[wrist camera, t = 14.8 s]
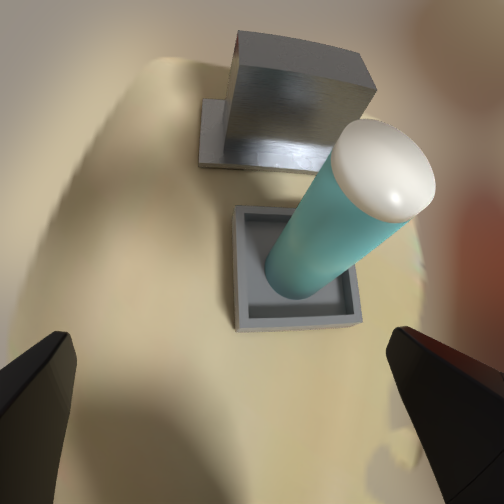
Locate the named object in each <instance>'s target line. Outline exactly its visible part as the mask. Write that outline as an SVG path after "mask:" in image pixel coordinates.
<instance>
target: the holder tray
mask: <svg viewBox="0 0 504 504" xmlns="http://www.w3.org/2000/svg"><path fill="white" fill-rule="evenodd" d="M295 210H296V208H281V207H263V206H242V205H235V208H234V212H233V216H232V244H233V278H234V308H235V332H270V331H295V330H313V329H329V328H343V327H351V326H354V325H357V324H359V323H362V322H363V321H362V312H361V304H360V296H359V289H358V282H357V275H356V269H355V264H354V265H352V266H351V267H350V268H349V269H347V270H346V271H345V272H343V273H342V274H340V275H339V276H338V277H336V278H335V279H334V280H332V281H331V282H330V283H328V284H327V285H326V286H324V287H323V288H321V289H320V290H319V291H317V292H316V293H315V294H313V295H312V296H310V297H308V298H306V299H302V300H292V299H287V298H285V297H283V296H281V295H279V294H278V293H276V292H275V291H274V290H273V289H272V287H271V286H270V284H269V283H268V281H267V278H266V275H265V261H266V258H267V256H268V254H269V252H270V251H271V249H272V247H273V246H274V244H275V242H276V241H277V239H278V238H279V236H280V234H281V233H282V231H283V229H284V228H285V226H286V225H287V223H288V221H289V220H290V218H291V216H292V215H293V213H294V211H295Z"/></svg>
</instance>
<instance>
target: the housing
mask: <svg viewBox="0 0 504 504" xmlns="http://www.w3.org/2000/svg"><path fill="white" fill-rule="evenodd" d="M376 91H377V89H376V86H375V84H374V82H373V80H372V78H371V76H370V74H369V72H368V70H367V68H366V66H365V64H364V62H363V60H362V58H361V56H360V54H359V53H356V52H353V51H349V50H345V49H341V48H337V47H333V46H329V45H325V44H320V43H316V42H311V41H306V40H301V39H296V38H290V37H285V36H278V35H272V34H264V33H257V32H249V31H240V30H238V33H237V38H236V43H235V48H234V54H233V59H232V64H231V70H230V75H229V81H228V87H227V92H226V98H225V100H217V99H203V104H202V117H201V131H200V147H199V165H198V167H211V168H231V169H248V170H263V171H276V172H287V173H299V174H309V175H317V174H318V172H319V170H320V169H321V167H322V165H323V164H324V162H325V160H326V159H327V157H328V155H329V154H330V152H331V150H332V149H333V147H334V145H335V144H336V142H337V140H338V139H339V137H340V135H341V133H342V132H343V130H344V129H345V127H346V126H347V125H348V124H350V123H351V122H353V121H356V120H359V119H360V117H361V116H362V114H363V112H364V111H365V109H366V108H367V106H368V104H369V103H370V101H371V99H372V98H373V96H374V95H375V93H376Z"/></svg>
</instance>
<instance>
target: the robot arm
mask: <svg viewBox="0 0 504 504" xmlns="http://www.w3.org/2000/svg"><path fill="white" fill-rule="evenodd" d="M386 357H387V360H388V363H389V365H390V368H391V371H392V374H393V377H394V379H395V382H396V385H397V388H398V391H399V394H400V396H401V399H402V401H403V403H404V405H405V408H406V410H407V412H408V414H409V416H410V419H411V421H412V423H413V426H414V428H415V430H416V432H417V435H418V437H419V439H420V442H421V444H422V446H423V449H424V451H425V454H426V456H427V458H428V460H429V463H430V466H431V468H432V471H433V473H434V475H435V478H436V481H437V483H438V485H439V488H440V491H441V493H442V496H443V499H444V501H445V504H504V373H502V372H499V371H498V370H496V369H494V368H492V367H490V366H488V365H486V364H484V363H482V362H480V361H478V360H475V359H473V358H471V357H469V356H467V355H465V354H463V353H461V352H459V351H457V350H455V349H453V348H451V347H449V346H447V345H445V344H443V343H441V342H439V341H437V340H435V339H433V338H431V337H429V336H426V335H424V334H423V333H421V332H419V331H417V330H415V329H413V328H410V327H408V326H402V327H397V328H395V329H394V330H393V332H392V335H391V338H390V340H389V343H388V345H387V348H386ZM76 366H77V357H76V353H75V350H74V346H73V343H72V339H71V336H70V334H69V333H68V332H62V331H54V332H52V333H51V334H50V335H48V336H47V337H45V338H44V339H42V340H41V341H40V342H38V343H37V344H35V345H34V346H33V347H31V348H30V349H28V350H27V351H26V352H24V353H23V354H22V355H20V356H19V357H17V358H16V359H15V360H13V361H12V362H11V363H9V364H8V365H6V366H5V367H4V368H2V369H1V370H0V504H53V500H54V493H55V486H56V480H57V474H58V468H59V462H60V457H61V452H62V447H63V442H64V437H65V432H66V428H67V423H68V419H69V414H70V408H71V400H72V393H73V385H74V379H75V372H76Z"/></svg>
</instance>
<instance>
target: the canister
mask: <svg viewBox="0 0 504 504" xmlns="http://www.w3.org/2000/svg"><path fill="white" fill-rule="evenodd" d="M434 194H435V178H434V174H433V171H432V168H431V166H430V164H429V161H428V160H427V158H426V157H425V155H424V153H423V152H422V151H421V149H420V148H419V147H418V146H417V145H416V144H415V143H414V142H413V141H412V140H411V139H410V138H409V137H408V136H407V135H405V134H404V133H403V132H401V131H400V130H398V129H397V128H395V127H393V126H391V125H389V124H387V123H384V122H382V121H378V120H373V119H359V120H356V121H353V122H351V123H350V124H348V125H347V126H346V127H345V129H344V130H343V132H342V133H341V135H340V137H339V139H338V140H337V142H336V144H335V145H334V147H333V149H332V150H331V152H330V154H329V155H328V157H327V159H326V160H325V162H324V164H323V165H322V167H321V169H320V170H319V172H318V174H317V175H316V177H315V178H314V180H313V182H312V183H311V185H310V187H309V188H308V190H307V192H306V193H305V195H304V197H303V198H302V200H301V202H300V203H299V205H298V207H297V208H296V210H295V211H294V213H293V215H292V216H291V218H290V220H289V221H288V223H287V225H286V226H285V228H284V229H283V231H282V233H281V234H280V236H279V238H278V239H277V241H276V242H275V244H274V246H273V247H272V249H271V251H270V252H269V254H268V256H267V258H266V261H265V275H266V278H267V281H268V283H269V284H270V286H271V287H272V289H273V290H274V291H275V292H276V293H278V294H279V295H281V296H283V297H285V298H287V299H292V300H302V299H306V298H308V297H310V296H312V295H313V294H315V293H316V292H317V291H319V290H320V289H321V288H323V287H324V286H326V285H327V284H328V283H330V282H331V281H332V280H334V279H335V278H336V277H338V276H339V275H340V274H342V273H343V272H345V271H346V270H347V269H349V268H350V267H351V266H352V265H354V264H355V263H356V262H358V261H359V260H360V259H362V258H363V257H364V256H366V255H367V254H368V253H369V252H371V251H372V250H373V249H375V248H376V247H377V246H378V245H380V244H381V243H382V242H384V241H385V240H386V239H387V238H389V237H390V236H391V235H392V234H394V233H395V232H396V231H397V230H399V229H400V228H401V227H402V226H404V225H405V224H406V223H407V222H408V221H410V220H411V219H412V218H413V217H415V216H416V215H417V214H418V213H419V212H421V211H422V210H423V209H424V208H425V207H427V206H428V205H429V203H431V201H432V199H433V197H434Z"/></svg>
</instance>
